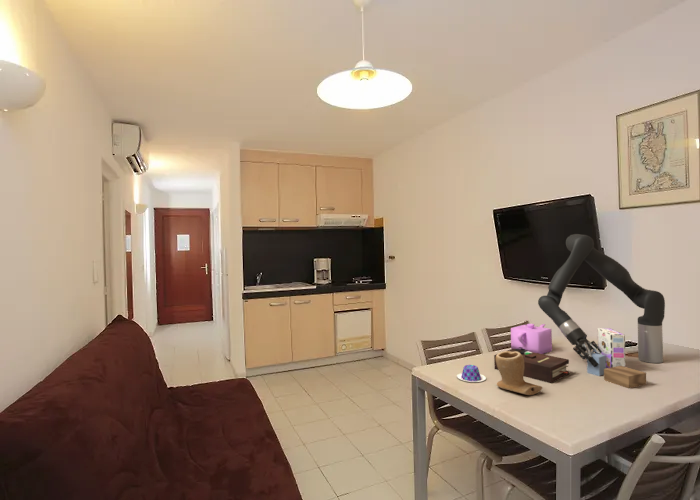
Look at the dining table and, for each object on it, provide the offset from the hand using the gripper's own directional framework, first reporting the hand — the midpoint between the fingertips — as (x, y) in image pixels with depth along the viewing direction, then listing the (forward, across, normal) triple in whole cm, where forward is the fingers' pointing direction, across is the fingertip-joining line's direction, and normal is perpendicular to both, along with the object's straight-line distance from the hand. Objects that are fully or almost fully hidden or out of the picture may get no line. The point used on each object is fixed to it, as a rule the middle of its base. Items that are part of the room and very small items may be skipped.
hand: (600, 364), depth 167 cm
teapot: (-25, +11, +32) cm, 42 cm away
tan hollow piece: (-2, -45, +9) cm, 46 cm away
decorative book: (-10, -20, +17) cm, 28 cm away
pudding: (-16, -48, +23) cm, 56 cm away
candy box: (+1, +14, +5) cm, 15 cm away
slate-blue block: (+2, 0, +4) cm, 5 cm away
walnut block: (+10, -2, -4) cm, 11 cm away
